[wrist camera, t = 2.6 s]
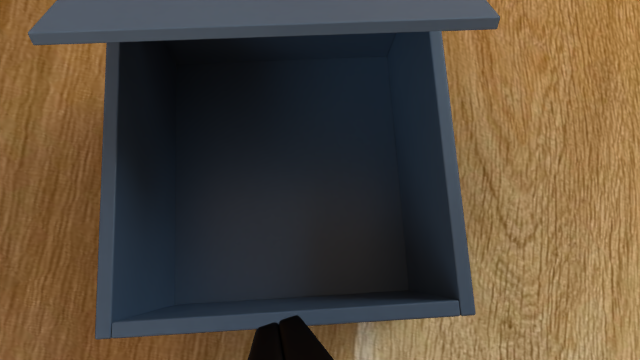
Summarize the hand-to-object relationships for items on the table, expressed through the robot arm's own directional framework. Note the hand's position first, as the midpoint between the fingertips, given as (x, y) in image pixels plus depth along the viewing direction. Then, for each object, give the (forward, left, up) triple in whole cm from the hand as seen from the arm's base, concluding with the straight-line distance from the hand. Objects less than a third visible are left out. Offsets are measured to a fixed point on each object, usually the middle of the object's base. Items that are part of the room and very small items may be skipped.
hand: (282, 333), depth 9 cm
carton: (+6, 0, -13) cm, 14 cm away
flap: (+10, 0, -3) cm, 10 cm away
